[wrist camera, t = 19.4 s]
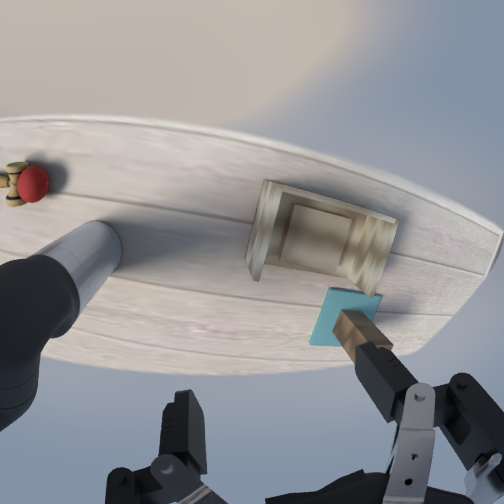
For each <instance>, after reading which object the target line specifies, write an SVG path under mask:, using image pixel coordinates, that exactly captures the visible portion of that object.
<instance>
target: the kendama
mask: <svg viewBox="0 0 504 504" xmlns="http://www.w3.org/2000/svg"><path fill="white" fill-rule="evenodd" d="M6 172H7V173H8V175H9V177H10V178H9V177H6V176H2V175H0V188H4V187H10V186H11V188H10V191H9V194H8V195H7V197H6V205H7V206H10V207H16V206H21V205H24V204H26V203H27V202H30V203H33V202H37V201H39V200H41V199H42V198H43V197H44V196H45V194H46V193H47V190H48V187H49V178H48V175H47V173H46V171H45V170H44V169H43V168H41V167H39V166H30V167H28V163H27V162H15V163H11V164H8V165H7V166H6Z"/></svg>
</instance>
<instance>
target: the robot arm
mask: <svg viewBox="0 0 504 504" xmlns="http://www.w3.org/2000/svg"><path fill="white" fill-rule="evenodd" d="M121 255H122V246H121V242H120V239H119V237H118V235H117V234H116V232H115V231H114V230H113V229H112V228H111V227H110V226H109V225H107V224H105V223H103V222H100V221H90V222H87V223H85V224H83V225H82V226H80V227H78V228H76V229H74V230H72V231H71V232H69V233H67V234H65V235H64V236H62V237H60V238H59V239H57V240H55V241H54V242H52V243H50V244H49V245H47V246H45V247H44V248H42V249H40V250H39V251H37V252H36V253H34V254H33V255H31V256H30V257H28V258H26V259H17V260H12V261H9V262H6V263H4V264H2V265H0V431H2V430H3V429H5V428H6V427H7V426H9V425H10V424H12V423H13V422H14V421H16V420H17V419H18V418H19V417H20V416H22V415H23V414H24V413H25V412H26V411H27V410H28V409H29V407H30V406H31V404H32V402H33V400H34V398H35V396H36V392H37V387H38V377H39V364H40V355H41V351H42V349H43V348H44V346H45V344H46V343H47V341H48V340H49V339H50V338H57V337H60V336H62V335H64V334H65V333H66V332H67V331H68V330H69V329H70V328H71V327H72V325H73V324H74V322H75V321H76V319H77V318H78V317H79V315H80V314H81V312H82V311H83V310H84V308H85V307H86V305H87V304H88V303H89V301H90V300H91V299H92V297H93V296H94V295H95V294H96V292H97V291H98V290H99V288H100V287H101V286H102V285H103V283H104V282H105V281H106V280H107V278H108V277H109V276H110V275H111V273H112V272H113V271H114V270H115V268H116V267H117V266H118V264H119V262H120V260H121ZM355 372H356V375H357V377H358V379H359V381H360V382H361V384H362V385H363V387H364V388H365V390H366V391H367V393H368V394H369V396H370V397H371V399H372V400H373V402H374V403H375V405H376V407H377V408H378V410H379V411H380V413H381V414H382V416H383V417H384V419H385V420H386V422H387V423H389V422H391V421H393V420H395V421H396V423H397V426H396V431H395V435H394V440H393V444H392V449H391V452H390V456H389V459H388V462H387V465H386V468H385V471H384V473H380V472H373V473H364V471H363V469H361V470H359V471H356V472H354V473H351V474H349V475H346V476H343V477H341V478H339V479H337V480H336V481H334V482H332V483H330V484H329V485H327V486H325V487H324V488H322V489H320V490H318V491H314V492H303V493H289V494H284V495H280V496H276V497H271V498H266V499H265V502H266V504H492V503H493V502H494V501H496V500H498V499H499V498H500V497H502V496H503V495H504V412H503V411H502V410H501V408H500V407H499V406H498V405H497V404H496V402H494V400H493V399H492V398H491V397H490V396H489V394H488V393H487V392H486V391H485V390H484V389H483V388H482V386H481V385H480V384H479V383H478V382H477V381H476V380H475V379H474V378H473V377H472V376H471V375H470V374H467V373H458V374H455V375H454V376H453V377H452V378H451V380H450V382H449V383H448V384H444V385H440V386H436V387H432V386H430V385H429V384H425V383H419V382H418V381H417V380H416V379H415V378H414V376H413V375H412V374H411V373H410V372H409V371H408V370H407V368H405V366H404V365H403V364H401V362H400V361H399V359H397V357H396V356H395V355H394V354H393V353H392V351H390V350H388V349H386V348H384V347H380V348H377V347H376V346H375V345H374V343H373V342H372V341H368V342H365V343H363V344H360V345H357V346H356V348H355ZM437 426H439V427H440V429H441V431H442V432H443V434H444V435H445V437H446V438H447V440H448V441H449V443H450V444H451V446H452V447H453V449H454V450H455V452H456V454H457V455H458V457H459V458H460V460H461V461H462V463H463V465H464V466H465V468H466V469H467V471H468V472H467V473H466V476H465V479H464V482H465V487H466V496H465V495H462V494H457V493H453V492H449V491H444V490H440V489H436V488H432V487H429V486H427V484H428V479H429V474H430V468H431V463H432V456H433V450H434V442H435V430H433V428H434V427H437ZM161 427H162V429H161V435H160V447H159V455H158V457H157V458H155V459H154V460H153V462H152V463H151V466H149V467H146V468H143V469H140V470H137V471H133V472H132V471H131V470H129V469H127V468H124V467H120V468H116V469H114V470H112V472H110V473H109V475H108V478H107V486H106V497H105V504H169V503H172V502H177V503H178V504H228V503H227V502H226V501H224V500H223V499H222V498H221V497H220V496H218V495H217V494H216V493H215V492H214V491H212V490H211V489H210V488H209V487H208V486H206V485H205V484H204V483H203V482H202V481H201V480H200V475H202V474H207V462H206V445H205V423H204V415H203V411H202V409H201V407H200V405H199V403H198V401H197V399H196V397H195V395H194V393H193V391H192V390H191V389H190V390H184V391H177V392H176V393H175V399H174V403H168V404H167V406H166V407H165V409H164V411H163V416H162V425H161Z"/></svg>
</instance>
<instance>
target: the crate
mask: <svg viewBox="0 0 504 504" xmlns="http://www.w3.org/2000/svg"><path fill="white" fill-rule="evenodd" d="M399 221H400V220H398V219H395V218H393V217H390V216H387V215H384V214H381V213H379V212H376V211H373V210H370V209H367V208H364V207H360V206H357V205H354V204H351V203H348V202H344V201H341V200H338V199H334V198H331V197H327V196H324V195H321V194H317V193H313V192H310V191H306V190H302V189H299V188H295V187H291V186H287V185H283V184H280V183H276V182H272V181H267V180H264V181H263V185H262V189H261V193H260V198H259V202H258V206H257V210H256V214H255V218H254V222H253V226H252V230H251V234H250V239H249V243H248V247H247V251H246V255H245V260H246V263H247V265H248V268H249V271H250V273H251V276H252V279H253V280H254V281H259V280H260V276H261V272H262V268H263V265H264V264H269V265H275V266H281V267H286V268H292V269H298V270H303V271H309V272H315V273H321V274H326V275H332V276H338V277H344V278H348V279H349V280H350V281H351V282H352V283H354V284H355V285H356V286H357V287H358V288H359V289H360V290H361V291H363V292H364V293H365V294H366V295H367V296H368V297H369V298H373V297H374V294H375V292H376V289H377V287H378V284H379V281H380V279H381V276H382V273H383V270H384V267H385V265H386V262H387V259H388V256H389V253H390V250H391V247H392V244H393V240H394V237H395V234H396V231H397V227H398V224H399Z"/></svg>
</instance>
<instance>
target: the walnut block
mask: <svg viewBox="0 0 504 504" xmlns="http://www.w3.org/2000/svg"><path fill="white" fill-rule="evenodd" d="M332 332H333V334H334V335H335V337H336V338H337V340H338V341H339V342H340V344H341V345H342V347H343V348H344V350H345V351H346V352H347V354H348V355H349V357H350V358H351V360H352V361H353V362H354V364H355V348H356V346H357V345H360V344H363V343H365V342H368V341H372V342H373V343H374V345H375V346H376V347H377V348H380V347H384V348H386V349H388V350H390V351H391V349H392V347H393V344H392V343H391V342H390V341H389V340H388V339H387V337H386V336H385V335H384V334H383V333H382V332H381V331H380V330H379V329H378V328H377V327H376V326H375V325H374V324H373V323H372V322H371V321H370V320H369V319H368V317H367V316H366V315H365V314H364V313H363V312H362V311H352V310H342V309H341V310H340V313H339V315H338V318H337V320H336V323H335V325H334V328H333V330H332Z"/></svg>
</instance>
